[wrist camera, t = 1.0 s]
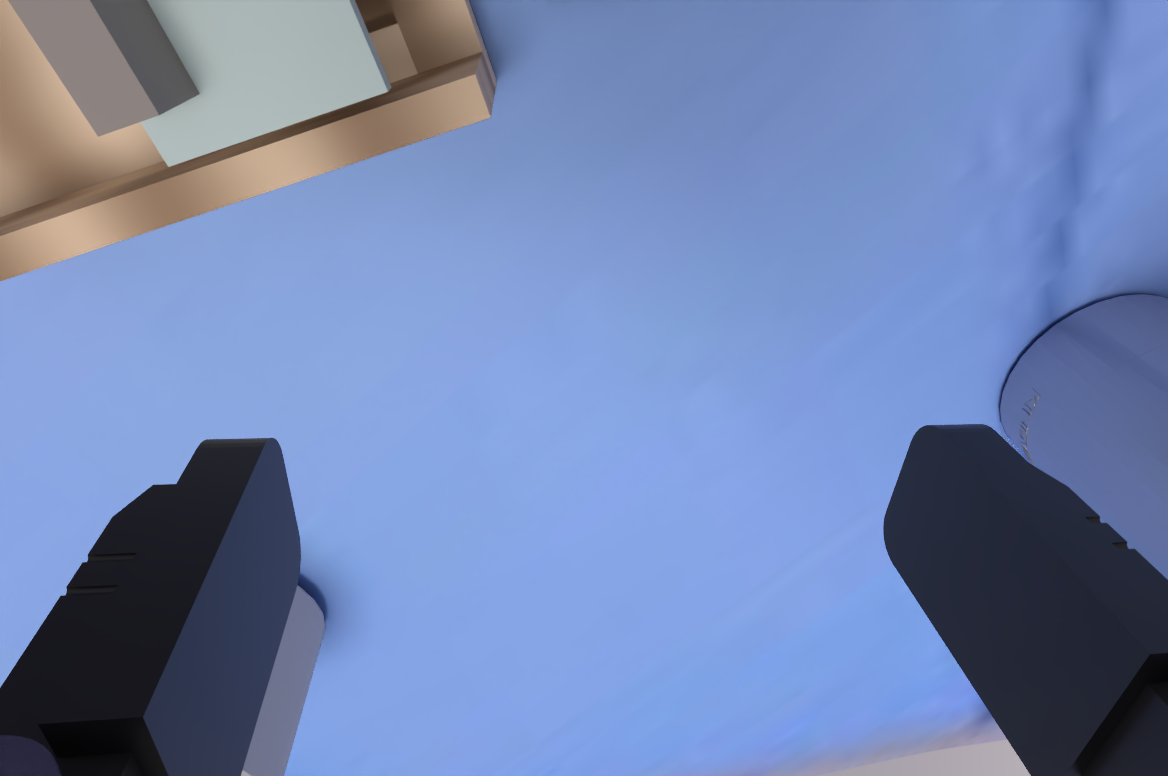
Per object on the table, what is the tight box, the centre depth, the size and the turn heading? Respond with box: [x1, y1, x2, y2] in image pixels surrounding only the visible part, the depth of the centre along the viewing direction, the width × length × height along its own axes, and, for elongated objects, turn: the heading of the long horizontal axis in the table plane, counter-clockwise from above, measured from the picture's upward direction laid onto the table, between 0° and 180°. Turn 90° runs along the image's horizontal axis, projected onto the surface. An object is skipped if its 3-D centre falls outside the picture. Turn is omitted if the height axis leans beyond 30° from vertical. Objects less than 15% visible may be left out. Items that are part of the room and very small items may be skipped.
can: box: [241, 585, 325, 776], centre depth 34 cm, size 8×8×12 cm
